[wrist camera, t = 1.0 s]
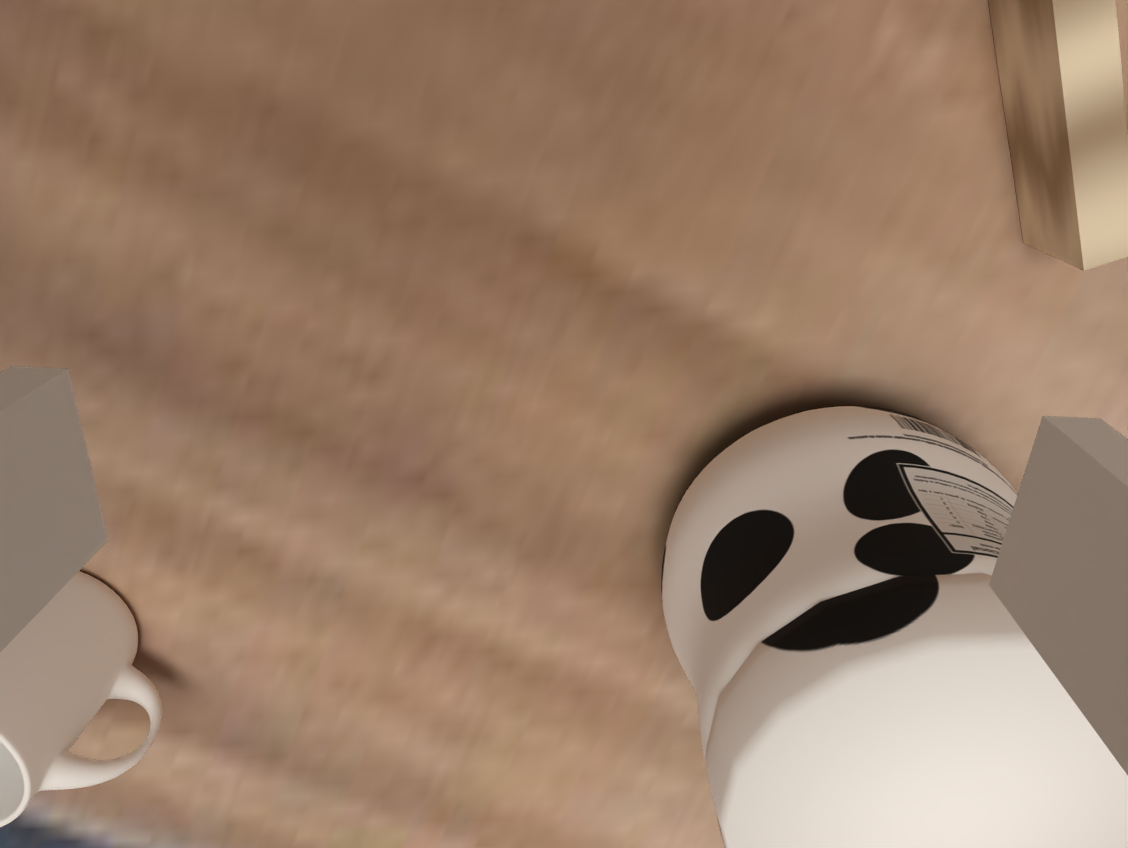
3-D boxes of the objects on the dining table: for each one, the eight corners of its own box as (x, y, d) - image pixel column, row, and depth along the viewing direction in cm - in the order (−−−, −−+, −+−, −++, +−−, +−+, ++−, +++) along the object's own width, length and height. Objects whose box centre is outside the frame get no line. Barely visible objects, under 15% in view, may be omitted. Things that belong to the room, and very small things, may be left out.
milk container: (697, 688, 48) (749, 1019, 32) (617, 433, 41) (631, 686, 25) (1002, 624, 45) (1232, 949, 29) (971, 340, 39) (1246, 555, 22)
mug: (171, 722, 51) (70, 883, 41) (-22, 639, 48) (-177, 788, 39) (220, 628, 47) (123, 779, 38) (17, 534, 45) (-142, 668, 35)
